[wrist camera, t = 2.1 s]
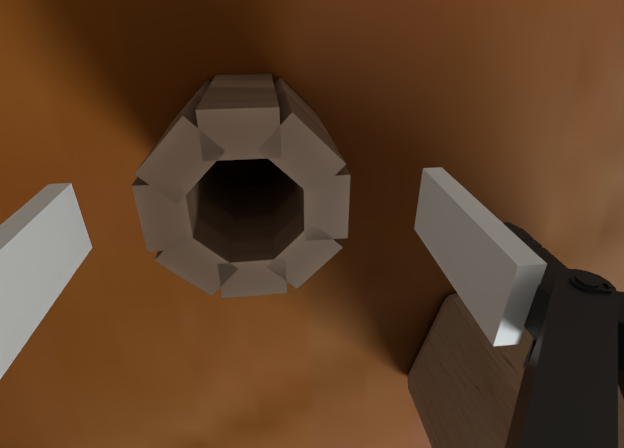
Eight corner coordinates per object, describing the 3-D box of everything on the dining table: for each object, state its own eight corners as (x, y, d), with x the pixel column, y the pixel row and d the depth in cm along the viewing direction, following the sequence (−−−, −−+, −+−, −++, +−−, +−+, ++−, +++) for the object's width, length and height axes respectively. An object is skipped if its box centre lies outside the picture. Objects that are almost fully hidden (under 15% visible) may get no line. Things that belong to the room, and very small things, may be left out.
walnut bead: (187, 216, 24) (159, 303, 17) (163, 75, 20) (113, 112, 13) (319, 208, 25) (345, 288, 18) (320, 72, 21) (353, 105, 14)
